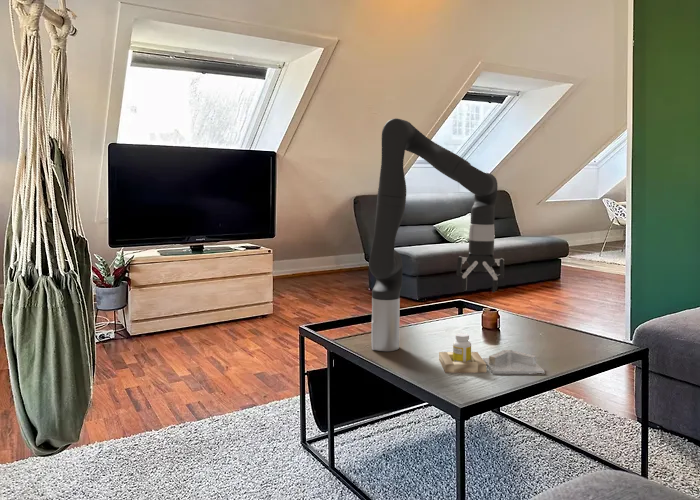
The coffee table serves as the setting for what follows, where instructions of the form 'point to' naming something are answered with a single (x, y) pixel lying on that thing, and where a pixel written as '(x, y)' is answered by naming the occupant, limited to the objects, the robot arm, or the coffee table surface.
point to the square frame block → (462, 363)
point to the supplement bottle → (462, 348)
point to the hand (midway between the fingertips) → (479, 290)
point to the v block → (512, 363)
